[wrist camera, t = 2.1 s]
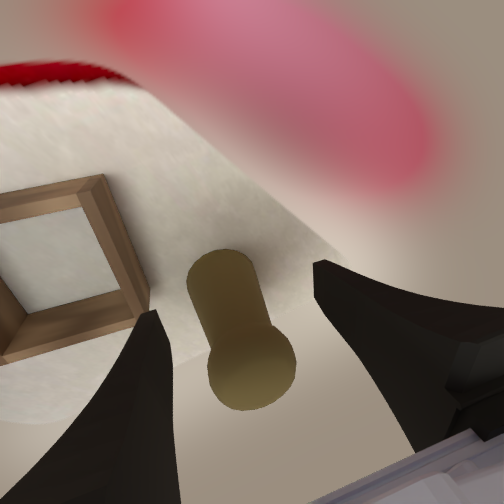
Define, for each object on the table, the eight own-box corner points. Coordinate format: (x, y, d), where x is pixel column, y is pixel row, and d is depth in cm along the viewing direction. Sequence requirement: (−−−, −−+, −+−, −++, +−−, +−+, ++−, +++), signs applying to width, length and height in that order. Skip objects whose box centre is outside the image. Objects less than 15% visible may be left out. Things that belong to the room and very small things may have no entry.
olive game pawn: (259, 296, 26) (314, 403, 17) (196, 316, 25) (218, 441, 16) (249, 240, 23) (310, 334, 14) (177, 261, 22) (191, 376, 13)
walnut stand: (22, 324, 21) (-4, 367, 17) (-68, 207, 16) (-128, 235, 13) (150, 289, 22) (148, 322, 19) (103, 173, 18) (90, 190, 14)
